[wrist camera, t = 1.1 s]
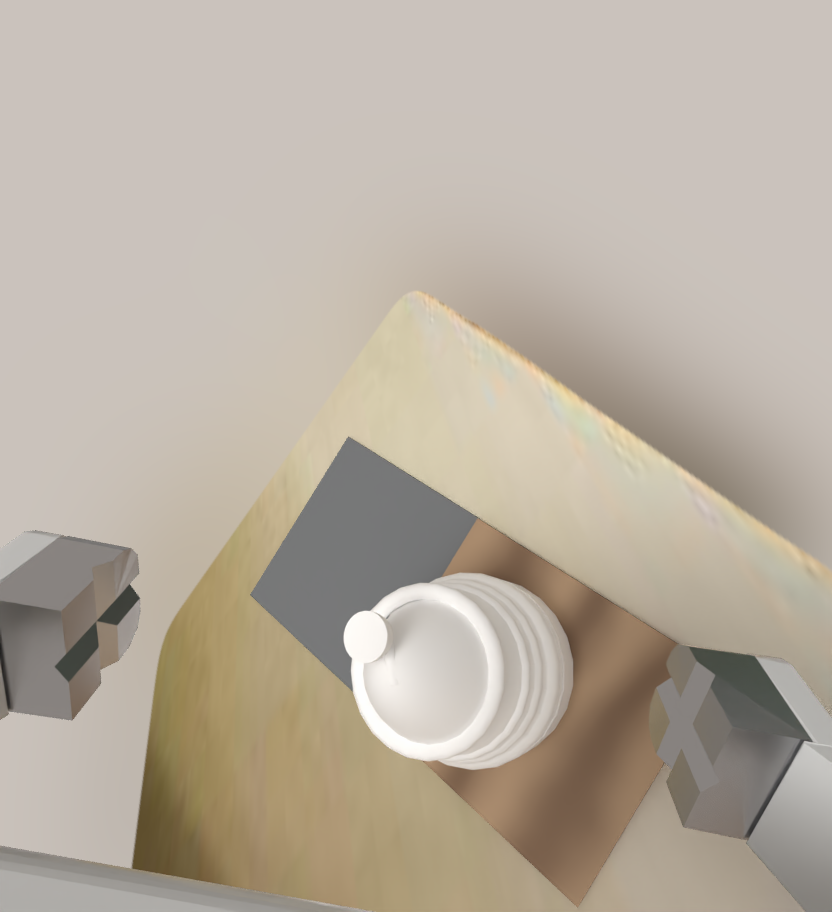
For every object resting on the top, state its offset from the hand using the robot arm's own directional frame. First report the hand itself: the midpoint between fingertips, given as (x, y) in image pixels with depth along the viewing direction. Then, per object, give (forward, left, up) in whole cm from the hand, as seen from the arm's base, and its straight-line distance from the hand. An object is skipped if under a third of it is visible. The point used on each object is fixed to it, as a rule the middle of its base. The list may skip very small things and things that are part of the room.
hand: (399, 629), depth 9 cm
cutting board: (+7, +6, -38) cm, 39 cm away
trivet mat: (+24, +1, -38) cm, 44 cm away
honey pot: (+9, +5, -37) cm, 39 cm away
